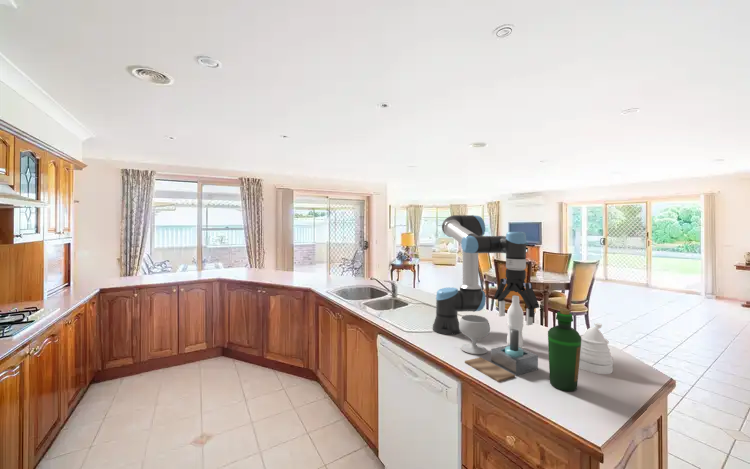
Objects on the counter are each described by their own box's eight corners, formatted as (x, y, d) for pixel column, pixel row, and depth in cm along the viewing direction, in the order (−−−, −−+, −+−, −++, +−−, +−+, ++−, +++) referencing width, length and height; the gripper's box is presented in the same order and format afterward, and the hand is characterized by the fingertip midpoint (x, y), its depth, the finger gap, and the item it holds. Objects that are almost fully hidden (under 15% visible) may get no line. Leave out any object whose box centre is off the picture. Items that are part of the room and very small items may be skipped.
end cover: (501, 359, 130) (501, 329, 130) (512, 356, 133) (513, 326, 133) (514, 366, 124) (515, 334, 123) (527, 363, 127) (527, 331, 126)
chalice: (474, 358, 136) (474, 324, 135) (452, 347, 148) (452, 316, 148) (496, 352, 142) (496, 320, 142) (473, 342, 155) (474, 312, 154)
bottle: (588, 391, 109) (589, 312, 108) (564, 395, 106) (566, 314, 105) (561, 377, 119) (563, 305, 118) (539, 381, 116) (541, 307, 115)
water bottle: (524, 351, 144) (525, 298, 143) (508, 350, 145) (509, 297, 145) (520, 345, 151) (521, 294, 150) (505, 344, 152) (506, 294, 152)
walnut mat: (464, 362, 131) (464, 360, 131) (480, 359, 135) (480, 357, 135) (497, 382, 115) (497, 379, 115) (515, 377, 119) (515, 375, 119)
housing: (491, 362, 131) (491, 348, 131) (512, 357, 137) (512, 344, 137) (515, 375, 120) (516, 360, 120) (537, 369, 125) (538, 355, 125)
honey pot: (593, 359, 136) (593, 318, 135) (620, 373, 123) (622, 328, 123) (567, 361, 134) (568, 320, 133) (593, 375, 121) (594, 329, 121)
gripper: (486, 266, 137) (485, 313, 137) (536, 273, 114) (535, 330, 115) (498, 265, 140) (498, 311, 140) (550, 272, 118) (549, 327, 118)
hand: (515, 320), depth 128 cm, fingers open, 13 cm apart
